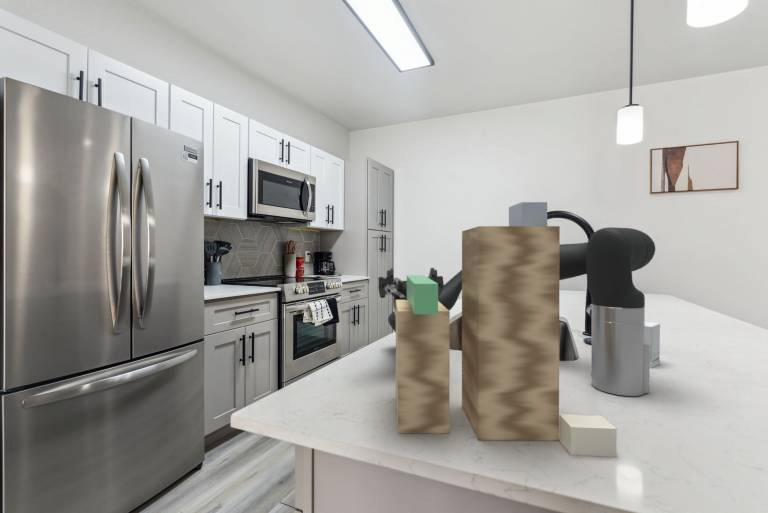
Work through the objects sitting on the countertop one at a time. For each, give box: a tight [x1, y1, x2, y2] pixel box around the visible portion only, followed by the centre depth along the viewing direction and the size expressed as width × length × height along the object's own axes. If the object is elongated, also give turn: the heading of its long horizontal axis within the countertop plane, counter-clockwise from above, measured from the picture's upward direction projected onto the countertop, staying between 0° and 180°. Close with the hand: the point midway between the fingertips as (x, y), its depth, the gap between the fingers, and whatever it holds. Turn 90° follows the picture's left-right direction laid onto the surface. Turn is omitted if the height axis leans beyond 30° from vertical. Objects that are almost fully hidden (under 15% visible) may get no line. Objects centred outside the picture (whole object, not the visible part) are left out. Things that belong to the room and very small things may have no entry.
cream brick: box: [558, 413, 617, 458], centre depth 52 cm, size 6×4×4 cm, turn 85°
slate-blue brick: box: [508, 201, 548, 226], centre depth 60 cm, size 4×6×4 cm, turn 0°
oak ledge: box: [395, 300, 451, 434], centre depth 63 cm, size 8×14×19 cm, turn 0°
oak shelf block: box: [461, 225, 561, 441], centre depth 60 cm, size 12×12×32 cm
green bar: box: [406, 275, 438, 314], centre depth 63 cm, size 4×20×4 cm, turn 0°
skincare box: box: [644, 320, 661, 369], centre depth 94 cm, size 10×6×10 cm, turn 36°
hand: (412, 271), depth 74 cm, fingers open, 8 cm apart
